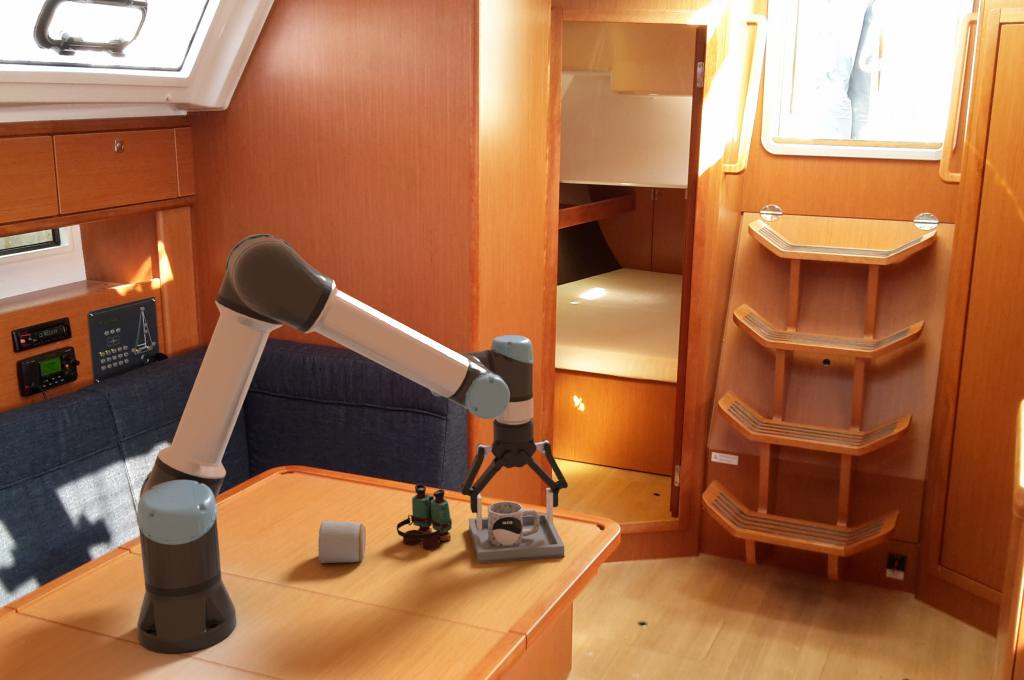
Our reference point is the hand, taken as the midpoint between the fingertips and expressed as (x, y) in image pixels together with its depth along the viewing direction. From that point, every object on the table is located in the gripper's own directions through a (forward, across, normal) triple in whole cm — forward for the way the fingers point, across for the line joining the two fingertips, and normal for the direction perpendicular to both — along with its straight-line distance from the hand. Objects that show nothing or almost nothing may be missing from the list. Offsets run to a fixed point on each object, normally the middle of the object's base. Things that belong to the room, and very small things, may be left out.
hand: (514, 525), depth 196 cm
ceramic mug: (+4, +33, +1) cm, 33 cm away
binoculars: (+4, +17, -3) cm, 18 cm away
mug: (+3, 0, 0) cm, 3 cm away
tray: (+4, 0, 0) cm, 4 cm away
